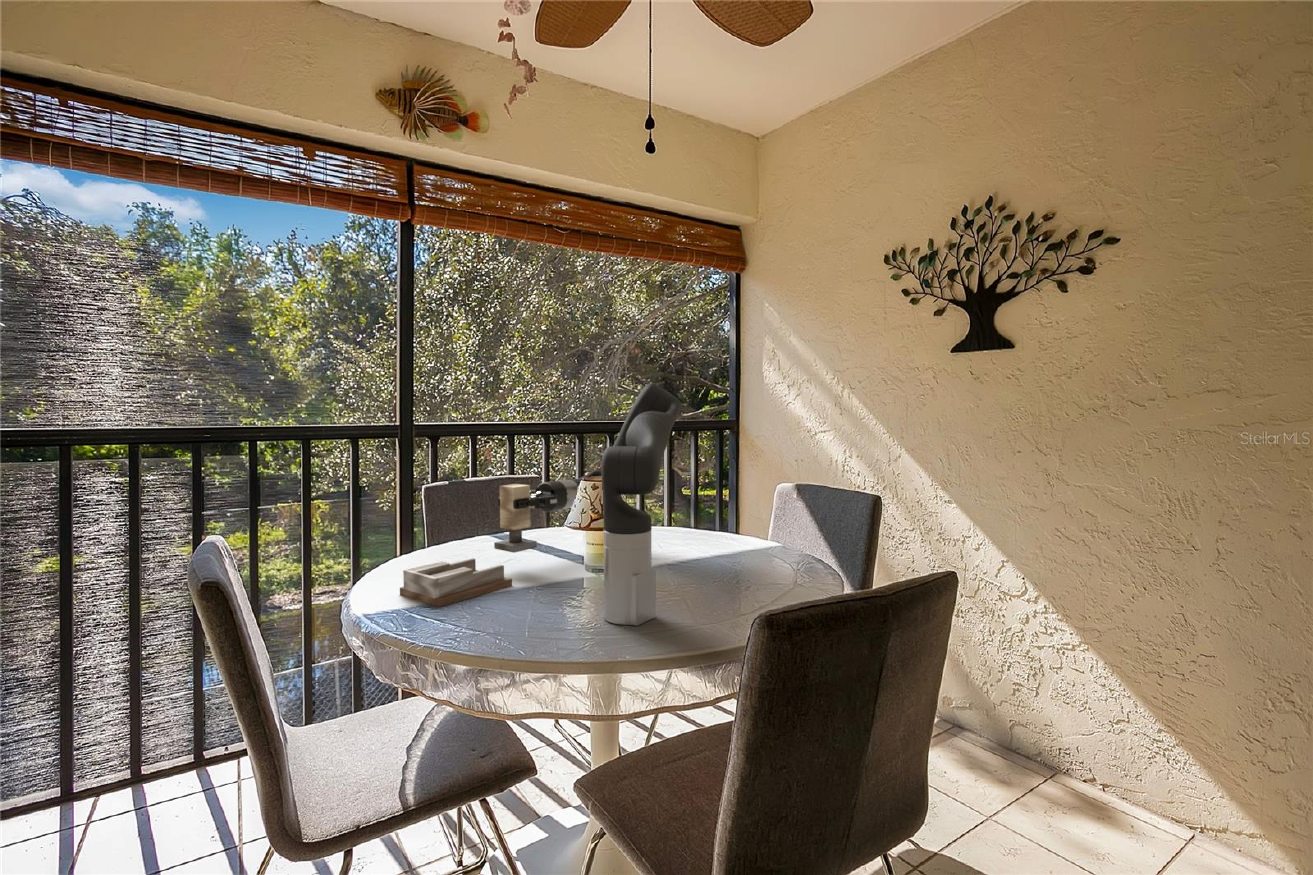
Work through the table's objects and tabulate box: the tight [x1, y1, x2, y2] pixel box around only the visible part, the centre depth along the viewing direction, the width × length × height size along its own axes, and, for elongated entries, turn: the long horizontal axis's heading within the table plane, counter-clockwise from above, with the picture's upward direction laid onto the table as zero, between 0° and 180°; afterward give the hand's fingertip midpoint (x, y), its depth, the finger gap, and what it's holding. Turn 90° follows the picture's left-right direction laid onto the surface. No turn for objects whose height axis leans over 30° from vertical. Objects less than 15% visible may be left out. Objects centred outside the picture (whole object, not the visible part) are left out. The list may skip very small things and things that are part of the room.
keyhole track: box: [399, 557, 513, 608], centre depth 146 cm, size 14×19×6 cm
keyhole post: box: [493, 483, 538, 553], centre depth 159 cm, size 7×7×15 cm
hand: (506, 503), depth 156 cm, fingers closed on keyhole post, 5 cm apart
